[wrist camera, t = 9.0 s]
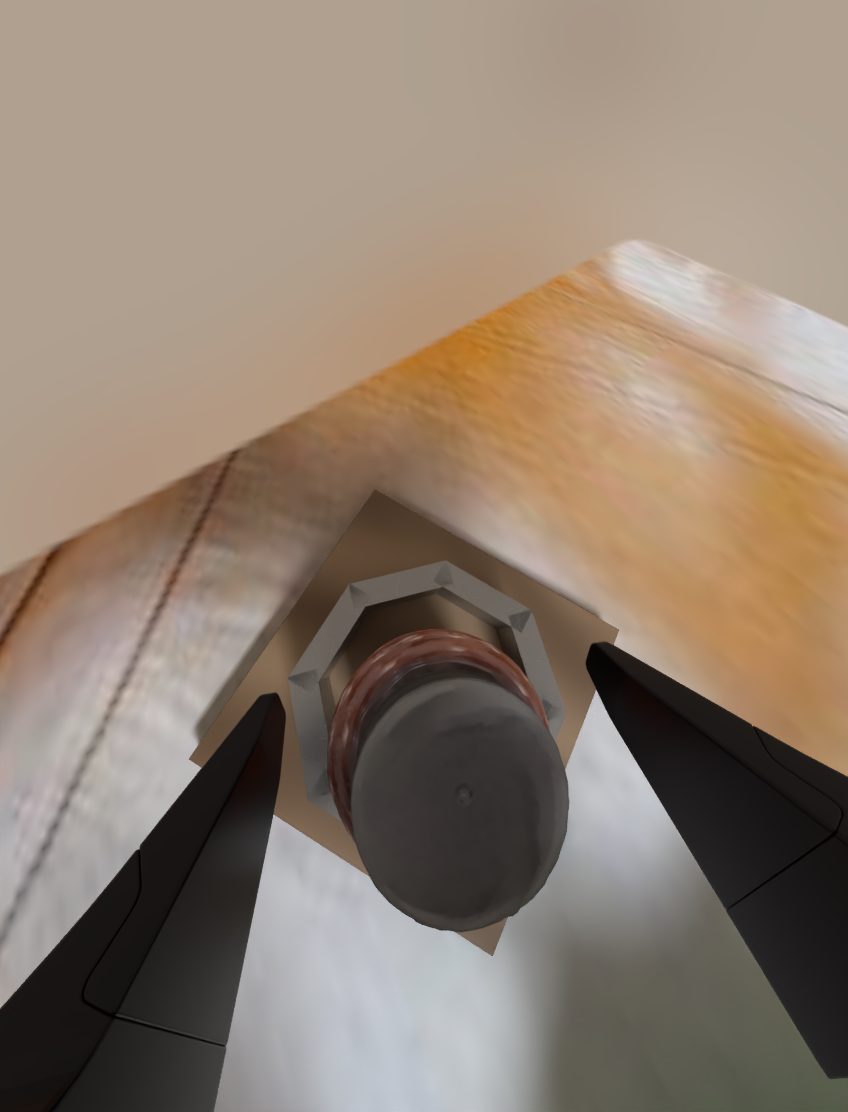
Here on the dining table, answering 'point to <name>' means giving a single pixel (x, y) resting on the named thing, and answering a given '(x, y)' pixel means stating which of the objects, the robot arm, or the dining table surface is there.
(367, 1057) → the dining table surface
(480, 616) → the ring
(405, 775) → the supplement bottle
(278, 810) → the stand
